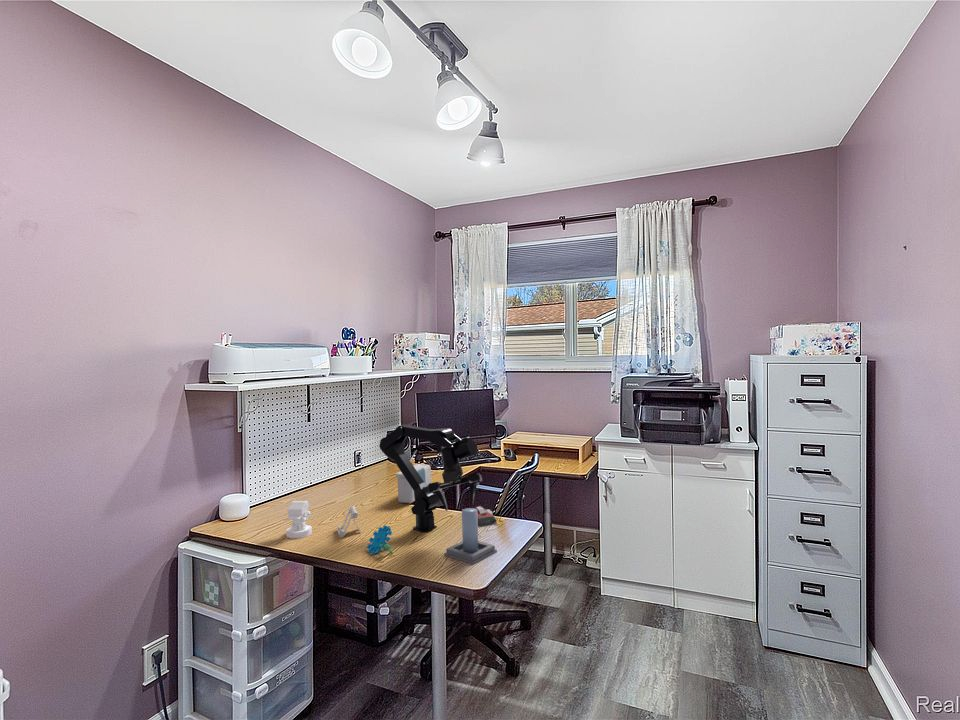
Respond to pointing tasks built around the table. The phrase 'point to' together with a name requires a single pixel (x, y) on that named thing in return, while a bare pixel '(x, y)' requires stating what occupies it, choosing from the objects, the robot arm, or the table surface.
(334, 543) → the table surface
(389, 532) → the gear
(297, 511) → the character figurine
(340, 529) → the portable electronic device stand
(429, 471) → the stereo radio cassette player
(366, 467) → the table surface
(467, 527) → the blue-grey rounded knob
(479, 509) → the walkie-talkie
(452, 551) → the grey square recessed dock
